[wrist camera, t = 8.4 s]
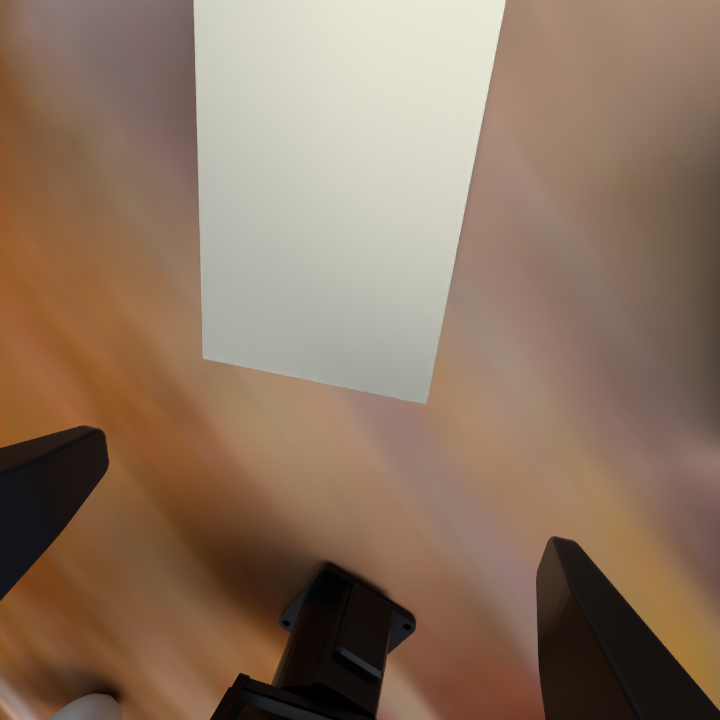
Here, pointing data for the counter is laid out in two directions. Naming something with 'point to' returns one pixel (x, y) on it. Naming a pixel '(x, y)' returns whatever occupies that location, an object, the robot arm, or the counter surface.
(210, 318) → the block
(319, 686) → the robot arm
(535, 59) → the counter surface
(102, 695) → the donut
